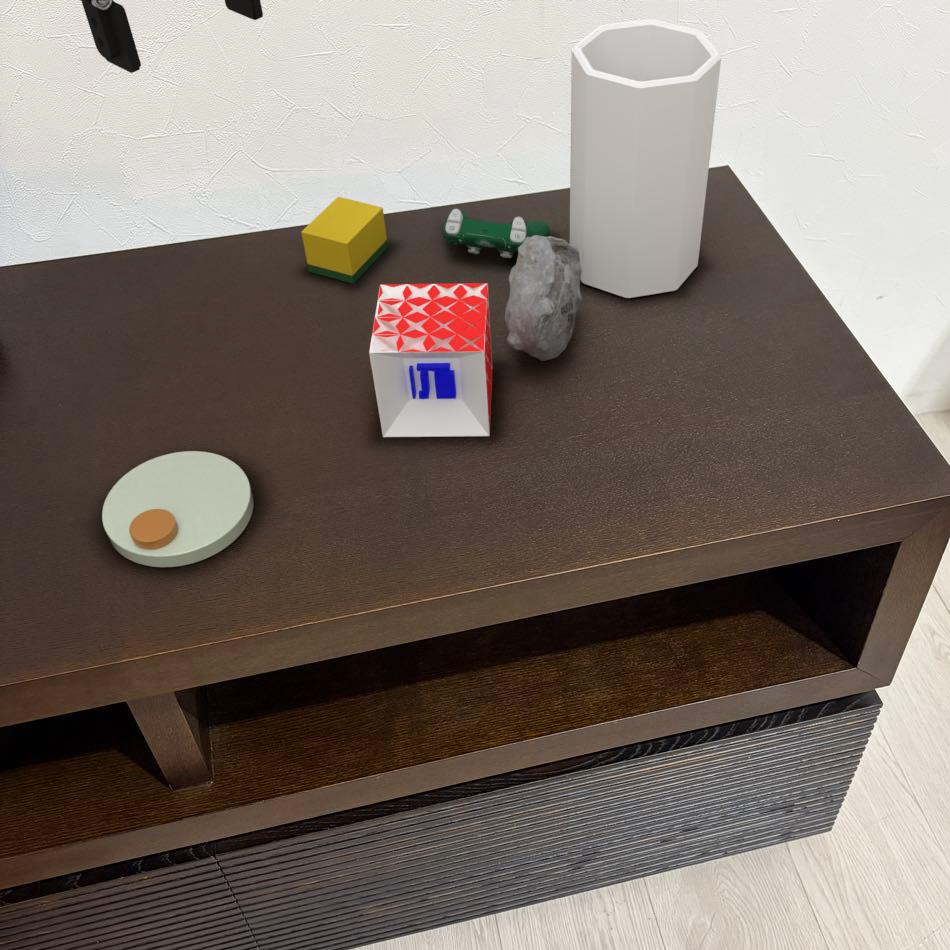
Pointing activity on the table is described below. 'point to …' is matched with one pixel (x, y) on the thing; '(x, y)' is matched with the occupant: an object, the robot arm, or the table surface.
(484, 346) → the puzzle cube
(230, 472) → the plate
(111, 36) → the robot arm
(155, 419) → the table surface
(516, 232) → the gaming controller
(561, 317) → the stone
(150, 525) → the orange flat disc
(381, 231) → the sponge
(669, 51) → the cup
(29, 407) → the table surface
